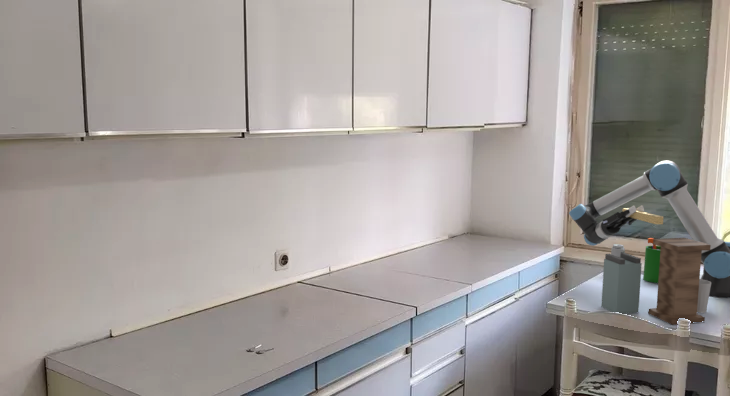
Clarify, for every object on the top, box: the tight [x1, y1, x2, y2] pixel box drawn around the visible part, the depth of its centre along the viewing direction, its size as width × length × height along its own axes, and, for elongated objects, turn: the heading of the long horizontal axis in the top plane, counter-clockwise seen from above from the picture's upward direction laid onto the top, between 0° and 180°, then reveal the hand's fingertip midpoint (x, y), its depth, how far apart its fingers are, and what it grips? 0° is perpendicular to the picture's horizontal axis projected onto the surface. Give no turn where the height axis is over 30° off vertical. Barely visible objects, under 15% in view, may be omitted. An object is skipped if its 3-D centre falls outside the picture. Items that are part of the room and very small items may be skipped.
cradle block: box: [600, 252, 643, 314], centre depth 259 cm, size 10×10×22 cm
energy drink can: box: [610, 243, 626, 258], centre depth 313 cm, size 6×6×15 cm
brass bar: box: [621, 207, 664, 225], centre depth 262 cm, size 22×3×3 cm, turn 12°
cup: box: [697, 278, 711, 314], centre depth 259 cm, size 8×8×12 cm
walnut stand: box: [648, 237, 711, 326], centre depth 249 cm, size 14×14×30 cm
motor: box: [642, 237, 661, 284], centre depth 305 cm, size 10×9×20 cm
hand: (638, 208), depth 264 cm, fingers closed on brass bar, 3 cm apart
